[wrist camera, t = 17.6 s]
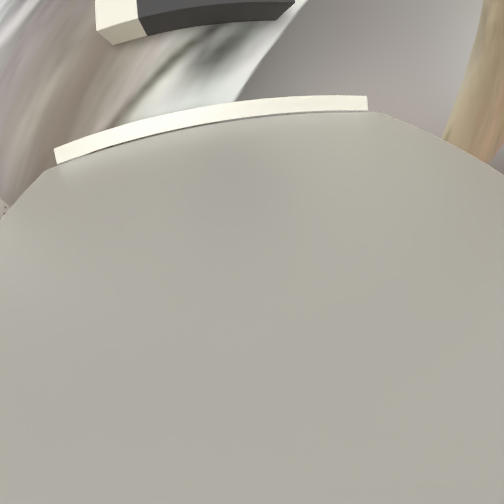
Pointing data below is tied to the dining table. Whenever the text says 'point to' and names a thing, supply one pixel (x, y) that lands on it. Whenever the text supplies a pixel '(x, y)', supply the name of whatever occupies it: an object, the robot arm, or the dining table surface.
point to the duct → (207, 119)
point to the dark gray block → (177, 15)
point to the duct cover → (256, 320)
